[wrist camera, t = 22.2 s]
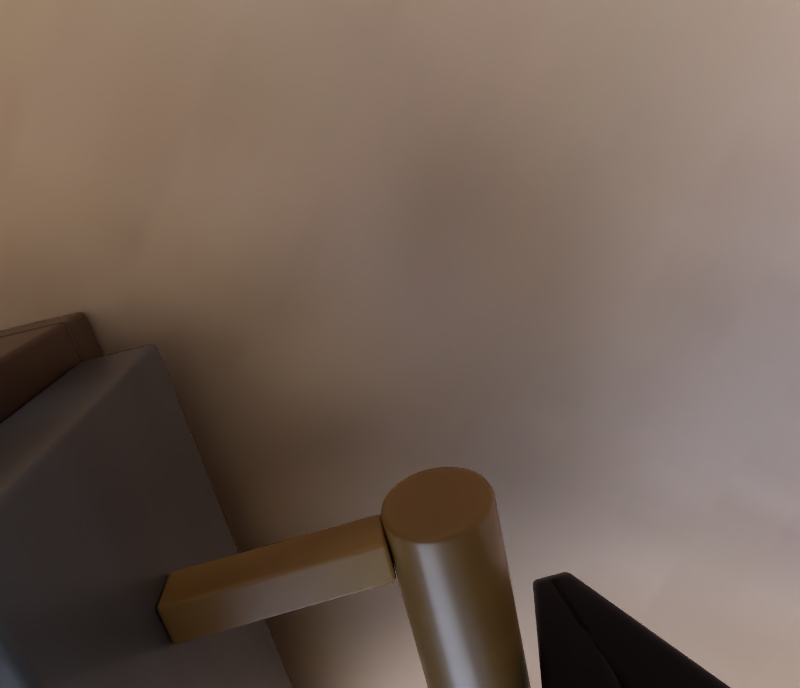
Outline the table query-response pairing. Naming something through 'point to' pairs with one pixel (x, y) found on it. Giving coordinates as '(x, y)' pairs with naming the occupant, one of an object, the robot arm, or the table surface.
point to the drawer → (213, 554)
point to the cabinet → (41, 357)
